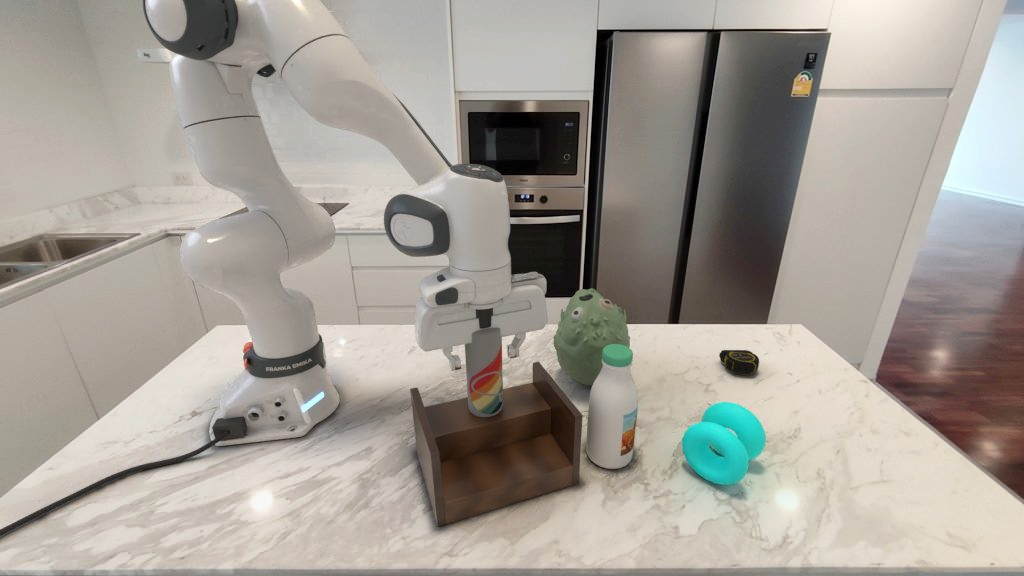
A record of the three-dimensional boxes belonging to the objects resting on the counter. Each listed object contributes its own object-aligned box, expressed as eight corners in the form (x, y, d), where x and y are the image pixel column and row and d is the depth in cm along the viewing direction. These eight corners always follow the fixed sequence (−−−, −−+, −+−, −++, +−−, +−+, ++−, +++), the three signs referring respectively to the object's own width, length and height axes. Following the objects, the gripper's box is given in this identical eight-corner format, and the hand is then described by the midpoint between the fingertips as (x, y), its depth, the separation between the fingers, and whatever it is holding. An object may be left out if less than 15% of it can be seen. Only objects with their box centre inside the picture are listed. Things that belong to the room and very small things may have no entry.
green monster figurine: (618, 356, 110) (625, 275, 102) (636, 406, 93) (646, 313, 85) (550, 356, 110) (552, 275, 103) (555, 406, 93) (557, 313, 85)
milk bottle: (604, 477, 76) (613, 368, 68) (576, 447, 82) (582, 345, 75) (642, 460, 79) (654, 355, 72) (612, 433, 86) (621, 334, 78)
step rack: (437, 527, 68) (430, 454, 63) (417, 453, 81) (409, 388, 76) (578, 483, 75) (582, 414, 70) (538, 422, 89) (538, 361, 84)
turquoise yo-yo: (762, 465, 78) (774, 415, 74) (737, 501, 71) (749, 447, 67) (702, 437, 84) (710, 389, 81) (675, 467, 78) (682, 416, 74)
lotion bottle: (498, 420, 75) (495, 305, 67) (463, 415, 76) (456, 302, 68) (506, 398, 80) (504, 289, 72) (474, 394, 81) (468, 286, 73)
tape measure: (749, 362, 107) (752, 347, 106) (762, 379, 101) (765, 363, 99) (717, 361, 108) (720, 346, 106) (729, 378, 101) (731, 363, 100)
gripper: (538, 263, 76) (537, 340, 81) (407, 282, 69) (416, 365, 74) (555, 276, 70) (553, 358, 75) (415, 298, 64) (424, 386, 69)
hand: (484, 362), depth 75 cm, fingers open, 8 cm apart
